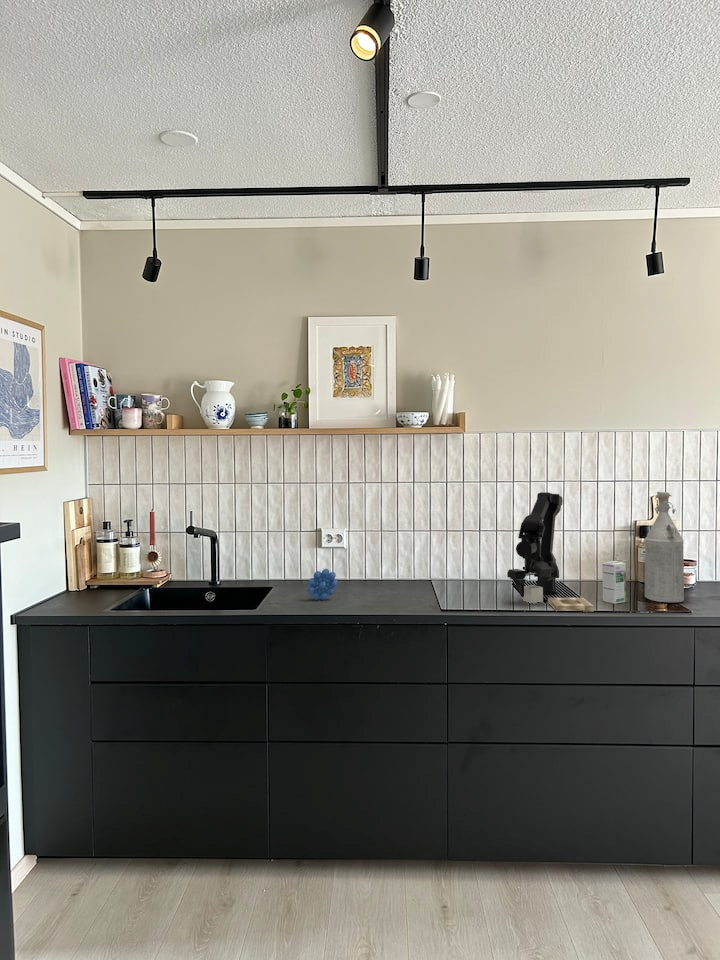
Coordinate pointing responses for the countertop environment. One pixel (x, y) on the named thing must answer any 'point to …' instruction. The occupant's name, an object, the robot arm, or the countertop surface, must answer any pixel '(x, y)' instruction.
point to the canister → (664, 557)
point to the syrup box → (614, 582)
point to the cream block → (533, 594)
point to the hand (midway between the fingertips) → (532, 595)
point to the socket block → (571, 604)
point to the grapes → (322, 584)
